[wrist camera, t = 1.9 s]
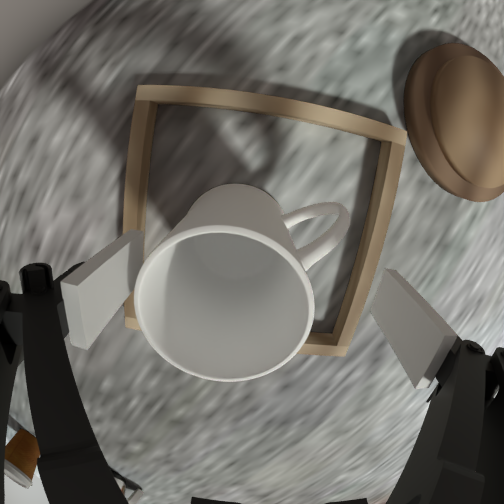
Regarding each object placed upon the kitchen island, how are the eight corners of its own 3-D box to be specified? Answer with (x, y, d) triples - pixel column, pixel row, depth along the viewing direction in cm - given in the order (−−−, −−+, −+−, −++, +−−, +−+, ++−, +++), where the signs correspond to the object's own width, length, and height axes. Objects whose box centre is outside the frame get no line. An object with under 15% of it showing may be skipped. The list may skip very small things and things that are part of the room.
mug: (302, 150, 21) (355, 151, 10) (339, 247, 24) (401, 325, 13) (165, 210, 23) (94, 267, 12) (212, 298, 26) (187, 400, 14)
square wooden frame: (132, 316, 26) (125, 327, 24) (146, 89, 20) (137, 84, 18) (339, 344, 27) (344, 356, 26) (395, 131, 21) (407, 131, 19)
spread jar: (85, 458, 38) (68, 502, 27) (139, 475, 39) (126, 524, 28) (100, 481, 42) (87, 520, 31) (148, 495, 43) (138, 537, 32)
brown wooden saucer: (391, 174, 22) (410, 179, 19) (408, 23, 17) (424, 12, 14) (498, 212, 23) (517, 220, 20) (512, 87, 18) (531, 85, 15)
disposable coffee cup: (45, 455, 41) (27, 491, 29) (12, 429, 38) (-8, 464, 27) (52, 447, 38) (32, 488, 27) (15, 418, 36) (-8, 457, 25)
